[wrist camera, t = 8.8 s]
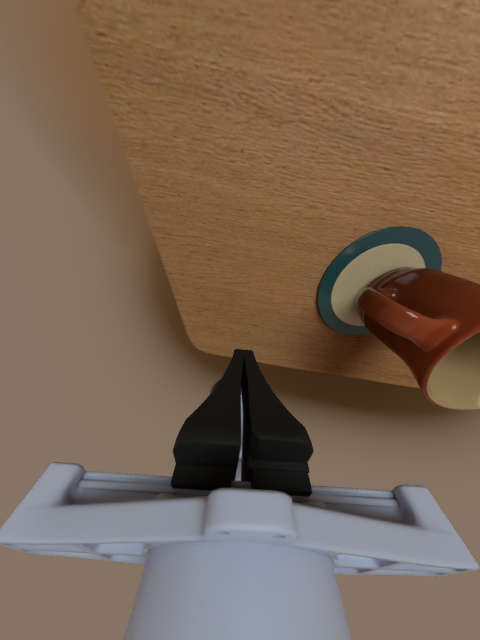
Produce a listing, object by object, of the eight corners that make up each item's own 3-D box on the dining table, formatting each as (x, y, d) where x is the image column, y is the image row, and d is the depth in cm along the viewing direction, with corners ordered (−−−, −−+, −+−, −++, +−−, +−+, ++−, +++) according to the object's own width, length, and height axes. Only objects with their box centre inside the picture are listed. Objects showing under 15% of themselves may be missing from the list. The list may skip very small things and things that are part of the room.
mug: (455, 273, 18) (664, 331, 9) (390, 339, 22) (487, 421, 13) (356, 228, 16) (494, 243, 7) (305, 308, 20) (352, 381, 11)
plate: (375, 346, 23) (377, 347, 23) (296, 313, 21) (297, 315, 21) (468, 258, 17) (471, 259, 17) (371, 201, 15) (374, 201, 15)
